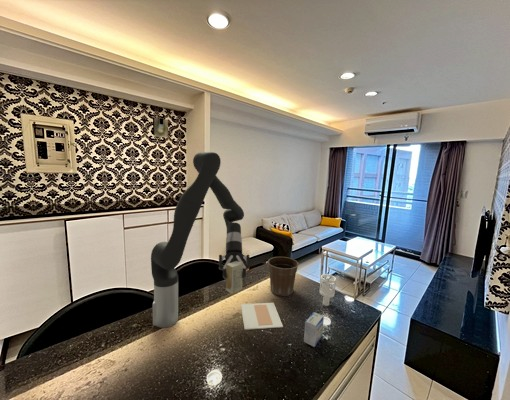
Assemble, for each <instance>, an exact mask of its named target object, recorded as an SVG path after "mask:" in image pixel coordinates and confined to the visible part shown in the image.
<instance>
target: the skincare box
mask: <svg viewBox="0 0 510 400" xmlns="http://www.w3.org/2000/svg"><path fill="white" fill-rule="evenodd" d="M225 264H226V263H225ZM243 264H244V262H243V263H241V262H239V261H234V262H231V263H228V264H226V279H225V291H226V292H228V293H230V294H231V295H233V294H235V293H237V292H239V291H241V290H242V289H243V278H242V276H243Z"/></svg>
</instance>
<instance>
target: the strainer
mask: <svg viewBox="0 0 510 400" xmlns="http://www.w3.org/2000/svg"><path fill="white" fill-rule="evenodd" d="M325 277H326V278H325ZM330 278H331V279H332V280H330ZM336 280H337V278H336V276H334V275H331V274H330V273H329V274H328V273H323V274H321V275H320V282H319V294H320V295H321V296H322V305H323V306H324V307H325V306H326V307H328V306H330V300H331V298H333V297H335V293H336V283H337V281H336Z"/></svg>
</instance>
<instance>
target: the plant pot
mask: <svg viewBox="0 0 510 400" xmlns="http://www.w3.org/2000/svg"><path fill="white" fill-rule="evenodd" d="M267 264H268V270H269V283H270V285H269V287H270V288H269V289H270V292H271V293H272V294H274V295H276V296H281V297H289V296H291V295H292V294H293V293H294V286H295V281H296V273H297V271H298V266H299V262H298V261H297V260H295V259H294V258H291V257H286V256H274V257H270V258H269V259H268V260H267Z"/></svg>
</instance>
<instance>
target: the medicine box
mask: <svg viewBox="0 0 510 400" xmlns="http://www.w3.org/2000/svg"><path fill="white" fill-rule="evenodd" d="M324 318H325V317H324V315H322V314H321V313H317V312H314V311H313V312H312V313H311V314H310V316H309V317H308V318H307V319H306V320H305V322H304V337H303V342H304V343H305V344H307V345H310V346H311V347H314V348H315V347H316V346H317V344H318V343H319V341H320V340H321V338H322V336H323V331H324V320H325V319H324Z"/></svg>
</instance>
